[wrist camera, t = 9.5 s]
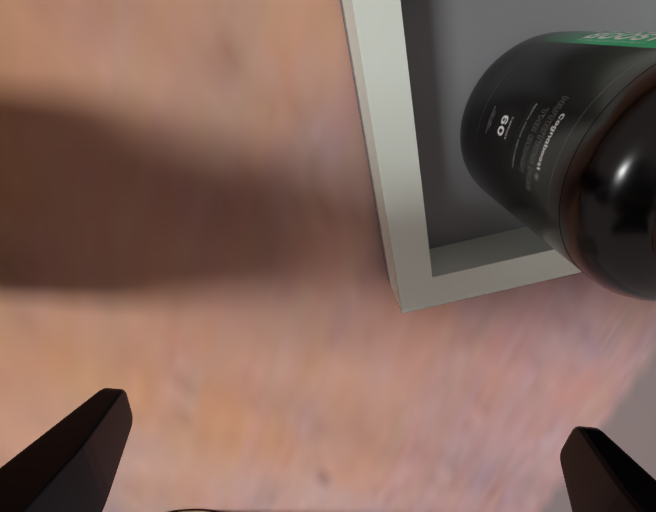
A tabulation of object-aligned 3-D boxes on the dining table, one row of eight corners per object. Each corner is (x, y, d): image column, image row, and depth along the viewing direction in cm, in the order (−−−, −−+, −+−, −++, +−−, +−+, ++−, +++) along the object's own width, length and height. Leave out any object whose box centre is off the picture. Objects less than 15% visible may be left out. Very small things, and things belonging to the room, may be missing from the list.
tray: (388, 278, 22) (402, 313, 19) (331, -52, 15) (341, -68, 13) (663, 215, 22) (715, 241, 19) (723, -149, 15) (817, -186, 13)
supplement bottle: (517, -4, 16) (965, -60, 6) (650, 77, 18) (1174, 151, 7) (425, 164, 19) (608, 342, 8) (548, 220, 21) (827, 425, 10)
